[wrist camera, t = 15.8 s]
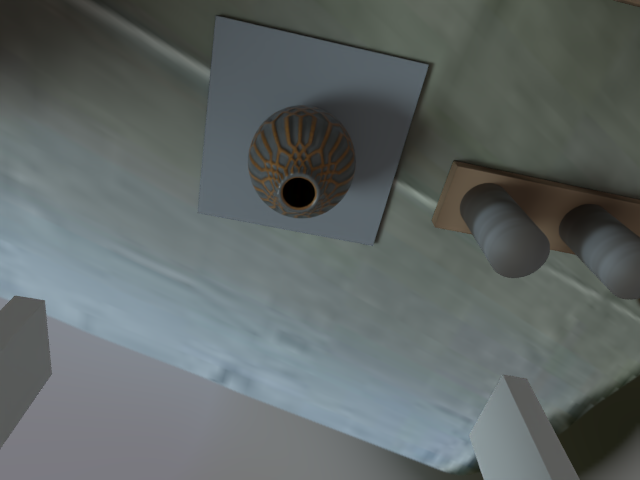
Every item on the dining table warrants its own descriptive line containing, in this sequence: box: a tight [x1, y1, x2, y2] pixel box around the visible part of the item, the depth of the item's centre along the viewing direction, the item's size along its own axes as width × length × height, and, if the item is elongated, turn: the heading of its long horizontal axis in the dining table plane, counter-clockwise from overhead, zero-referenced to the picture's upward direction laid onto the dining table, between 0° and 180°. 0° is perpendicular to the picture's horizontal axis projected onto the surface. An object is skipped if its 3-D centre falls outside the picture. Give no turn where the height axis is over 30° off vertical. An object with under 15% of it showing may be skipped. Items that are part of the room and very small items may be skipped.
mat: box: [198, 16, 429, 246], centre depth 33 cm, size 14×14×1 cm
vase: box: [248, 105, 356, 219], centre depth 29 cm, size 7×7×9 cm
